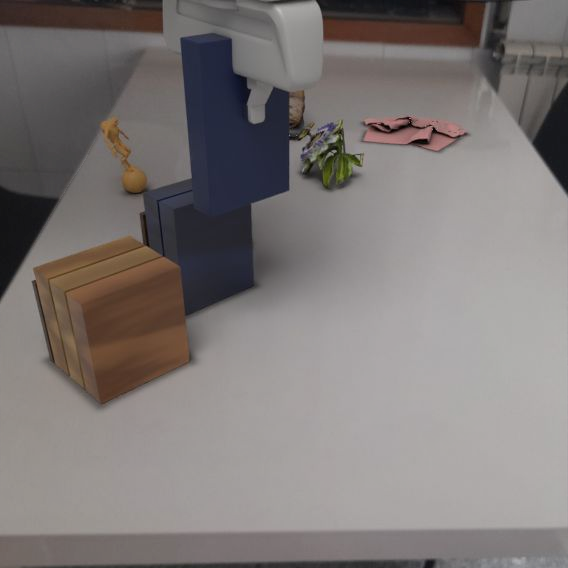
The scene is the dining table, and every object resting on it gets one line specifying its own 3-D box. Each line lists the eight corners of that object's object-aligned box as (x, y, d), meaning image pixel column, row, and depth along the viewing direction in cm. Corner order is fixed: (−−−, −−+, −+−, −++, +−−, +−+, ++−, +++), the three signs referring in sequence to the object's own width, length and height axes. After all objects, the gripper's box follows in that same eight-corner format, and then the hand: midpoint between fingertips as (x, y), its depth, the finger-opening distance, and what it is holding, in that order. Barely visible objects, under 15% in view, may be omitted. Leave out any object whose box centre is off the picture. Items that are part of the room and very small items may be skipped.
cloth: (479, 133, 149) (481, 121, 148) (418, 159, 135) (419, 146, 134) (401, 110, 159) (402, 99, 158) (336, 132, 145) (336, 120, 144)
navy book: (193, 208, 76) (179, 37, 66) (272, 182, 83) (269, 23, 73) (211, 217, 74) (199, 43, 65) (289, 190, 81) (289, 29, 71)
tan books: (50, 360, 79) (27, 263, 72) (137, 323, 86) (123, 231, 79) (100, 404, 73) (81, 304, 66) (190, 361, 80) (180, 266, 73)
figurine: (142, 202, 113) (133, 127, 106) (104, 201, 113) (92, 125, 106) (153, 182, 120) (144, 109, 113) (116, 181, 120) (105, 108, 113)
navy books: (149, 292, 91) (135, 188, 83) (218, 265, 98) (212, 166, 90) (184, 316, 87) (173, 209, 79) (254, 286, 94) (250, 184, 86)
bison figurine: (306, 142, 140) (307, 89, 134) (269, 141, 139) (269, 88, 133) (303, 122, 149) (304, 71, 144) (269, 121, 149) (269, 71, 143)
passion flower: (307, 202, 129) (294, 136, 129) (366, 191, 130) (353, 125, 130) (305, 189, 118) (291, 117, 118) (370, 177, 119) (356, 105, 118)
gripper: (139, -50, 69) (154, 97, 77) (282, -18, 58) (283, 149, 66) (193, -53, 73) (202, 87, 81) (337, -24, 62) (331, 135, 70)
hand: (239, 115), depth 73 cm, fingers closed on navy book, 3 cm apart
